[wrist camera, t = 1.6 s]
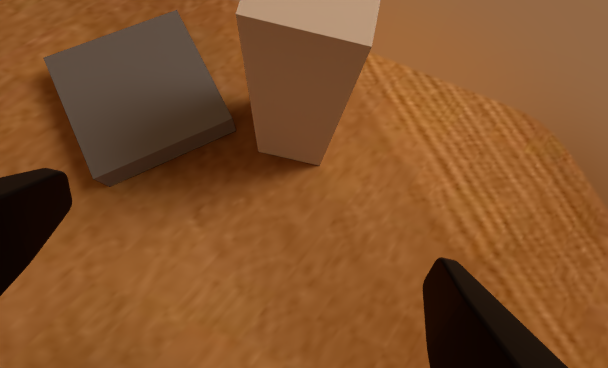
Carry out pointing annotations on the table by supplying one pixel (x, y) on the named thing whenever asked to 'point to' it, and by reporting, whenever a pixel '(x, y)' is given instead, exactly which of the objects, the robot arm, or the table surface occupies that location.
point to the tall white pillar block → (302, 69)
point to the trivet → (138, 98)
